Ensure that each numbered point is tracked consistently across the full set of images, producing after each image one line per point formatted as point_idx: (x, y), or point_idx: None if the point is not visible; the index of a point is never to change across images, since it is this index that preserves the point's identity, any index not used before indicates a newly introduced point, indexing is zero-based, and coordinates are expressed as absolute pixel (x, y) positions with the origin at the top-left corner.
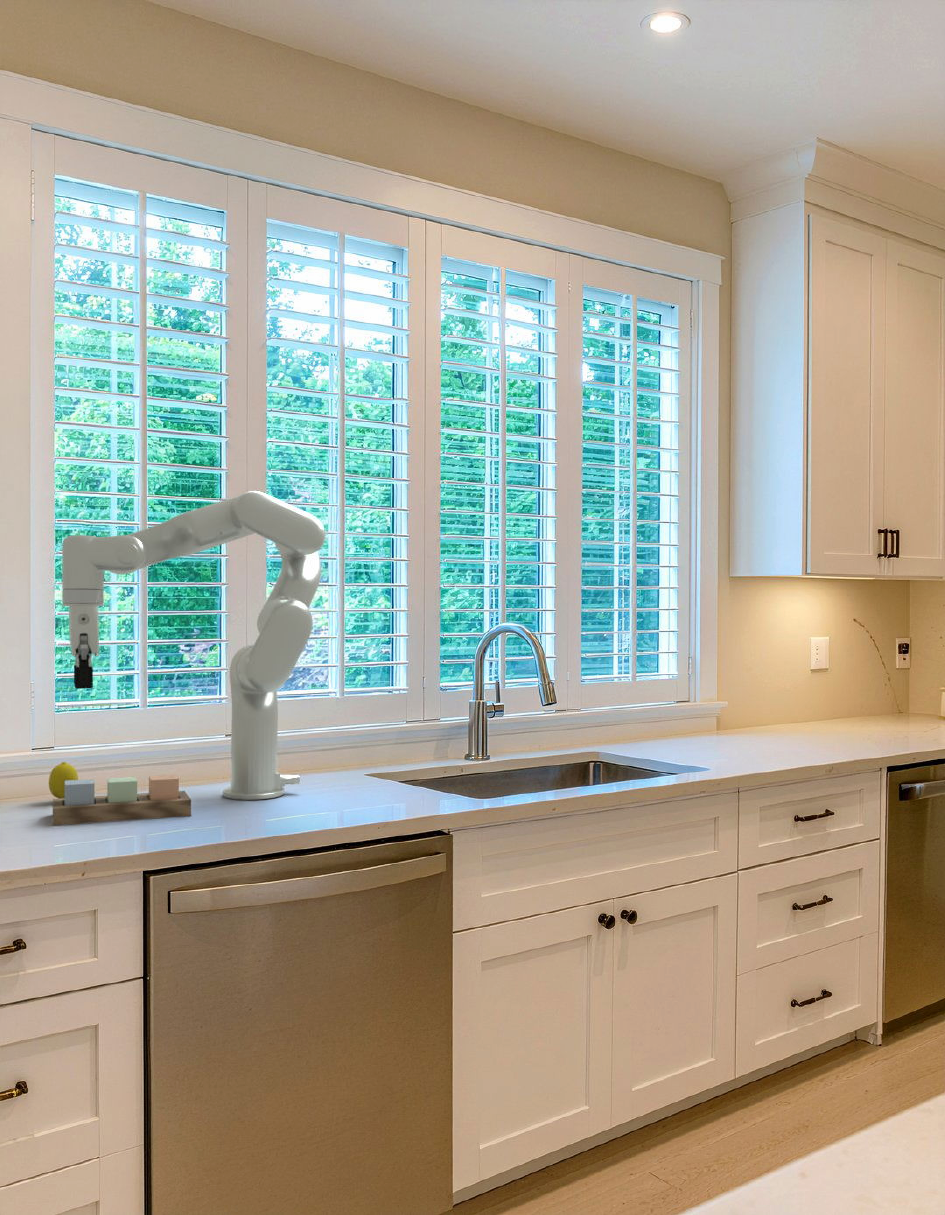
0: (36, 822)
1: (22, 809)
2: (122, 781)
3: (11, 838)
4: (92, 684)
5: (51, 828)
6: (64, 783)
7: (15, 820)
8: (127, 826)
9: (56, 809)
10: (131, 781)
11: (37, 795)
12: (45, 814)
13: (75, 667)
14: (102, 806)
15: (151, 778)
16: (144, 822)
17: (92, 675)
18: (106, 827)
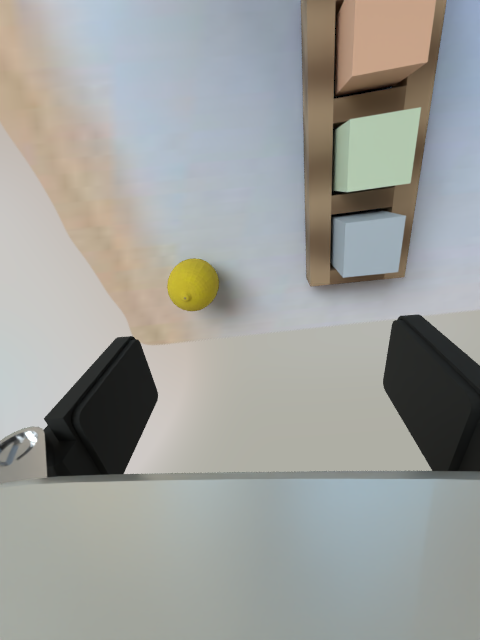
0: (355, 293)
1: (250, 321)
2: (409, 149)
3: (454, 311)
4: (427, 322)
5: (412, 268)
6: (217, 281)
7: (329, 320)
8: (466, 138)
9: (404, 271)
10: (418, 124)
11: (143, 314)
12: (298, 288)
13: (119, 473)
14: (415, 193)
15: (397, 63)
16: (445, 102)
17: (465, 355)
18: (452, 180)
